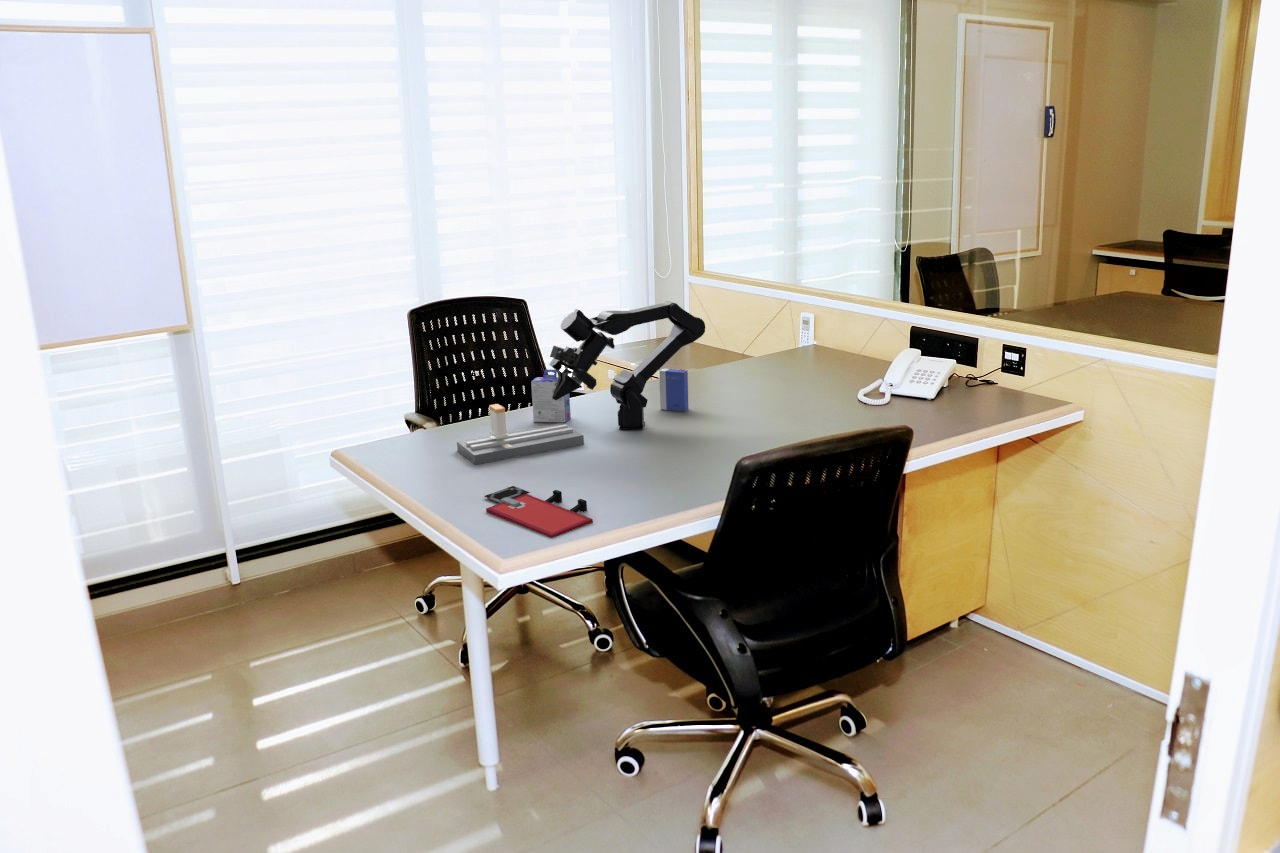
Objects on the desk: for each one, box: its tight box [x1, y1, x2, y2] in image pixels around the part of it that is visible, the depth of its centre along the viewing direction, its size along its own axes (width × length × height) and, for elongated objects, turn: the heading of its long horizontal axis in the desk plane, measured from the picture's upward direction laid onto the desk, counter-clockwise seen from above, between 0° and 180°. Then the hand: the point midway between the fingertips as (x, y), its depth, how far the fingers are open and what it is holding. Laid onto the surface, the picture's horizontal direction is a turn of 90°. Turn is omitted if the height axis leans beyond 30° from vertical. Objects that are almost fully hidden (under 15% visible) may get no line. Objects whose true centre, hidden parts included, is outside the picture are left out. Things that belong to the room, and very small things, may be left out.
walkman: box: [658, 368, 690, 412], centre depth 301 cm, size 8×3×12 cm, turn 63°
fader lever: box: [488, 403, 508, 441], centre depth 268 cm, size 3×6×9 cm, turn 28°
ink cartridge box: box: [530, 368, 572, 423], centre depth 295 cm, size 10×6×14 cm, turn 78°
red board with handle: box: [483, 485, 594, 539], centre depth 227 cm, size 30×3×15 cm
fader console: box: [456, 422, 585, 465], centre depth 272 cm, size 30×14×3 cm, turn 118°
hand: (553, 399), depth 274 cm, fingers closed
